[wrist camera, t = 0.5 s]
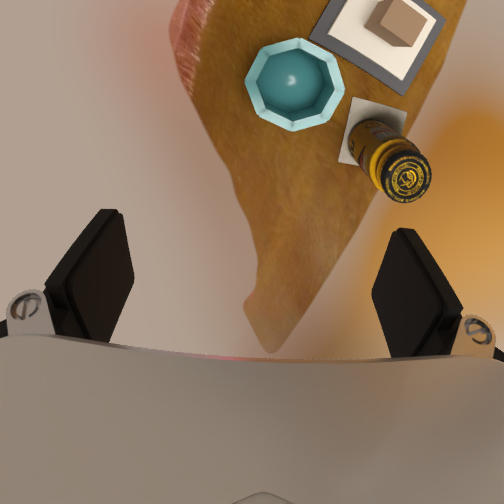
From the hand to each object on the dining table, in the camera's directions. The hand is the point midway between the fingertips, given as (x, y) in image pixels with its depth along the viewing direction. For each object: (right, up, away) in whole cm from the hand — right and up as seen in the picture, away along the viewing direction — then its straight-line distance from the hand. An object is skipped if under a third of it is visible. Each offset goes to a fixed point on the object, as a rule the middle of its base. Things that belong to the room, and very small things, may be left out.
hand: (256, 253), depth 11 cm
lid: (+15, +26, +15) cm, 33 cm away
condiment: (+15, +14, +24) cm, 32 cm away
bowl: (+4, +19, +21) cm, 29 cm away
